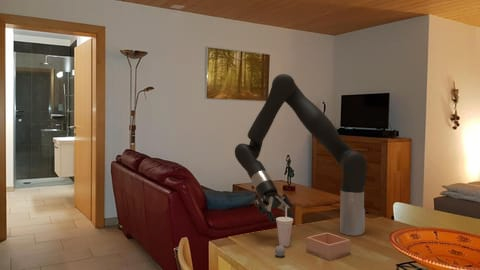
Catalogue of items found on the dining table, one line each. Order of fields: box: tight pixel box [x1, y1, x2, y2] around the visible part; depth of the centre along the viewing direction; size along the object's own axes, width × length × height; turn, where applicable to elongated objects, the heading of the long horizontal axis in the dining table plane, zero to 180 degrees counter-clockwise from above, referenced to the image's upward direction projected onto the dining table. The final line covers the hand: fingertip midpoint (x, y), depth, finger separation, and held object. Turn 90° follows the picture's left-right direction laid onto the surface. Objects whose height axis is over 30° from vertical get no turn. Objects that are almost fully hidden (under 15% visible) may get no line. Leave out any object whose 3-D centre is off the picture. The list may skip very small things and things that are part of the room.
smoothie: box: [275, 207, 294, 248], centre depth 146 cm, size 6×6×14 cm
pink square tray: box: [305, 232, 352, 261], centre depth 138 cm, size 11×11×5 cm
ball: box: [274, 245, 286, 257], centre depth 134 cm, size 4×4×4 cm
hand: (282, 220), depth 146 cm, fingers open, 8 cm apart
